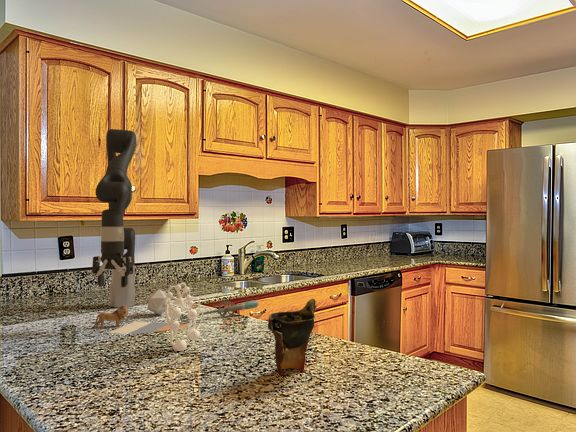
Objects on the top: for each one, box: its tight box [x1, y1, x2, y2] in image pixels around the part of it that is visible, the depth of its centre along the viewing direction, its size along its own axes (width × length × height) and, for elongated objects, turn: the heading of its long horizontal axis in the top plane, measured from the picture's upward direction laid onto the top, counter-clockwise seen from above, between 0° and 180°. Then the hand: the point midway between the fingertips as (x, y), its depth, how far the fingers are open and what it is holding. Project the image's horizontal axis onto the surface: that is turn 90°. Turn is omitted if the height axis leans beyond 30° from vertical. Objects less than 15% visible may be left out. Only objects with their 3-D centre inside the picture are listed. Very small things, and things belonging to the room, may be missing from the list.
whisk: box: [179, 299, 259, 323], centre depth 176 cm, size 11×32×7 cm, turn 123°
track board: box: [89, 320, 189, 335], centre depth 159 cm, size 28×16×1 cm, turn 78°
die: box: [147, 289, 172, 316], centre depth 180 cm, size 8×9×10 cm
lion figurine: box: [91, 305, 129, 330], centre depth 161 cm, size 12×4×7 cm, turn 116°
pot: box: [267, 298, 317, 376], centre depth 113 cm, size 17×11×18 cm, turn 141°
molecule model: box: [164, 282, 205, 352], centre depth 133 cm, size 19×14×4 cm
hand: (112, 286), depth 161 cm, fingers open, 8 cm apart
